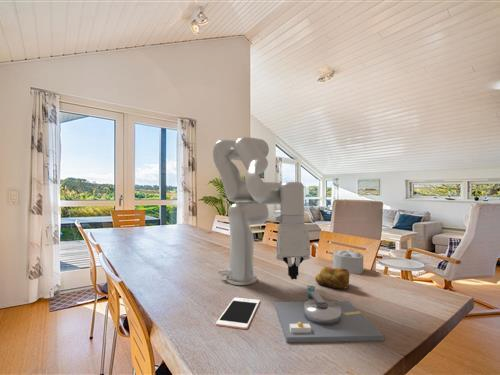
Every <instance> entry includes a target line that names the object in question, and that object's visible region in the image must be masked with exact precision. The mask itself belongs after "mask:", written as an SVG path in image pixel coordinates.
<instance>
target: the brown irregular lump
mask: <svg viewBox="0 0 500 375" xmlns="http://www.w3.org/2000/svg"><path fill="white" fill-rule="evenodd" d="M315 282H316V283H317V284H319V285H321V286H327V287H330V288H333V289H340V290H341V289H346V288H347V287H349V285H350V273H349V271H348V270H347V269H344V268H332V267H330V266H324V267H323V268H321V269H320V272H318V273H317V274H316V276H315Z"/></svg>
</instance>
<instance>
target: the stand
mask: <svg viewBox="0 0 500 375" xmlns="http://www.w3.org/2000/svg"><path fill="white" fill-rule="evenodd" d="M330 301H331V300H330ZM305 302H306V301H274V309H275V311H276V313H277V318H278V321H279V323H280V327H281V329H282V332H283V336H284V339H285V342H286V343H322V342H323V343H325V342H326V343H329V342H330V343H331V342H374V341H377V342H378V341H381V342H382V341H384V340H385V335H384V334H383V333H382V332H381V331H380V330H379V329H378V328H377V327H376V326H375V325H374V324H373V323H372V322H370V320H369V319H367V317H366V316H365V315H364V314H363V313H361V311H359V309H357V308H356V306H354V305H353V304H352V303H351V302H350V300H345V301H343V300H338V301H337V300H334V301H333V300H332V301H331V302H334V303H336V304H338V305H339V306H340V307H341V321H340V322H339V323H337V324H334V325H321V324H317V323H314V322H311V321H309V320H308V319H307V318H306V317H305V316H304V304H305Z"/></svg>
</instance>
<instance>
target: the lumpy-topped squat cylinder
mask: <svg viewBox="0 0 500 375" xmlns="http://www.w3.org/2000/svg"><path fill="white" fill-rule="evenodd" d="M332 254H333V257H332V258H333V259H332V267H333V268H332V269H334V268H344V269H347V270H348V271H349V274H355V275H361V274H363V272H364V254H362V253H361V252H359V251H356V250H352V249H347V250H345V249H339V250H338V251H334V252H333V253H332Z"/></svg>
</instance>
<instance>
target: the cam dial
mask: <svg viewBox="0 0 500 375" xmlns="http://www.w3.org/2000/svg"><path fill="white" fill-rule="evenodd" d="M306 290H307V292H306V294H307V296H306V297H307V299H308V300H307V301H304V302H305V304H304V316H305V317H306V318H307V319H308V320H309V321H311V322H314V323H317V324H321V325H334V324H337V323H339V322H340V321H341V307H340V306H339V305H338V304H336V303H334V302H331V300H327V299H323V298H322V296H321V295H320V294H319V292H318V291H317V290H316V286H314V285H307V289H306Z"/></svg>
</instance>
